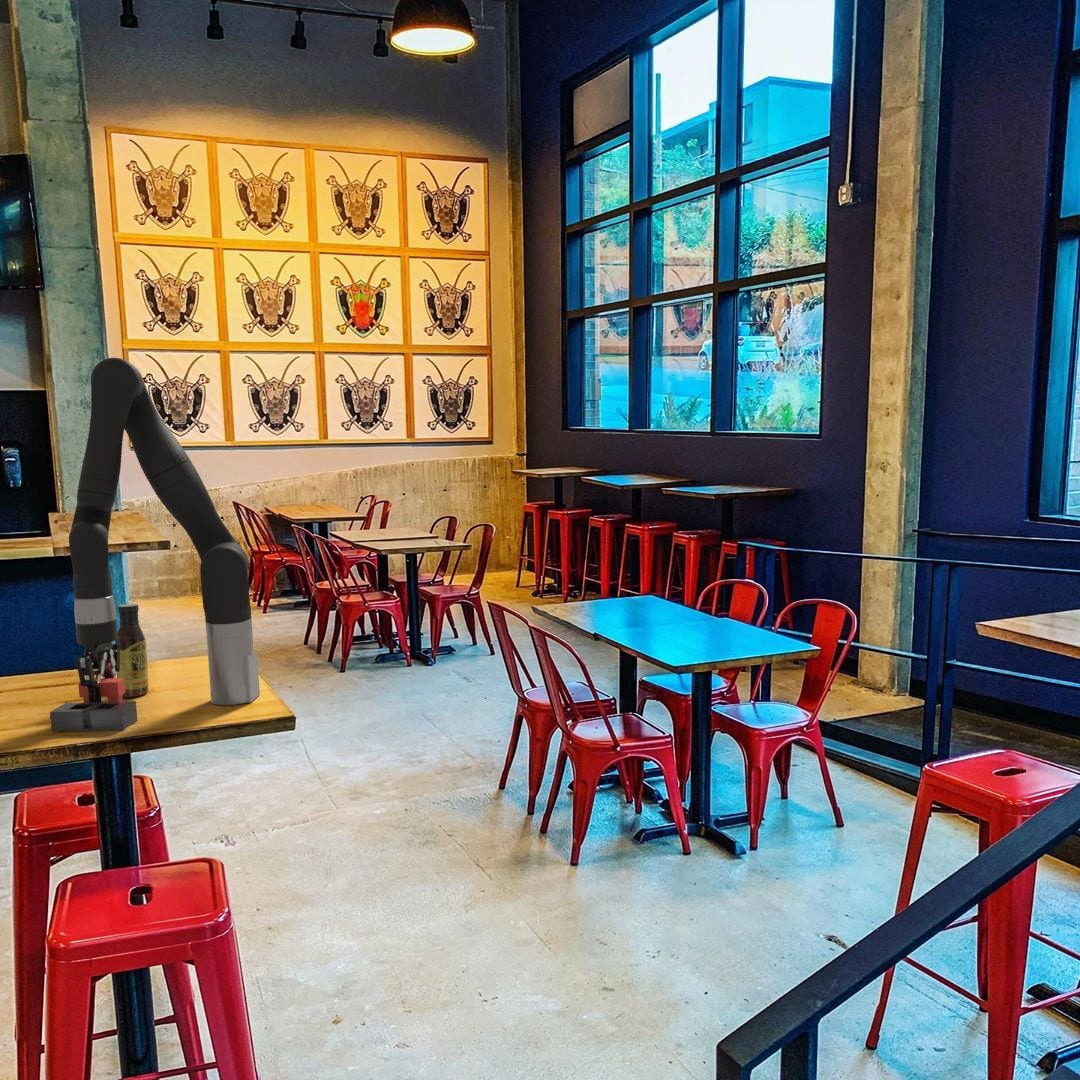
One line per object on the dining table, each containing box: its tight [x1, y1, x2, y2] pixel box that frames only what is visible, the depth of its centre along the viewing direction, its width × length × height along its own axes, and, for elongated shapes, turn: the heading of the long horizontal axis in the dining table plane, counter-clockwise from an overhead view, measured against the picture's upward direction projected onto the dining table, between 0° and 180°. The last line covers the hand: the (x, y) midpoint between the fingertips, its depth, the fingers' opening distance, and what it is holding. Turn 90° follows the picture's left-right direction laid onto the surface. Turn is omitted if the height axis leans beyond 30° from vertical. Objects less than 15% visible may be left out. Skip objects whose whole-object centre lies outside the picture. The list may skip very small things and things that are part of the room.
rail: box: [49, 700, 138, 732], centre depth 184 cm, size 14×6×4 cm, turn 89°
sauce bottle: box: [114, 603, 150, 698], centre depth 205 cm, size 6×6×20 cm
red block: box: [77, 677, 125, 702], centre depth 192 cm, size 8×3×7 cm, turn 89°
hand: (102, 699), depth 192 cm, fingers open, 5 cm apart
